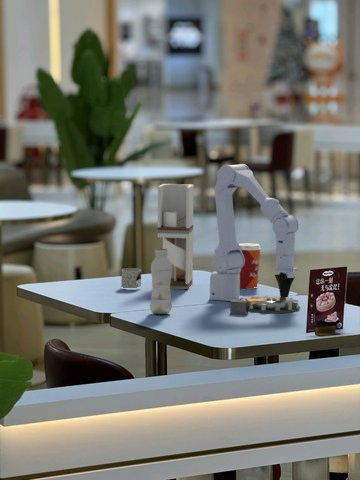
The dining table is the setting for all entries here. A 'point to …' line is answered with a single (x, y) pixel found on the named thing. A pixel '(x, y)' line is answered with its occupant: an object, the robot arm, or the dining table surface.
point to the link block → (239, 307)
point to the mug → (131, 278)
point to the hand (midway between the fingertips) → (284, 297)
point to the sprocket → (272, 303)
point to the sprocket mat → (274, 310)
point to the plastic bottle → (161, 282)
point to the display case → (177, 230)
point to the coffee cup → (250, 265)
